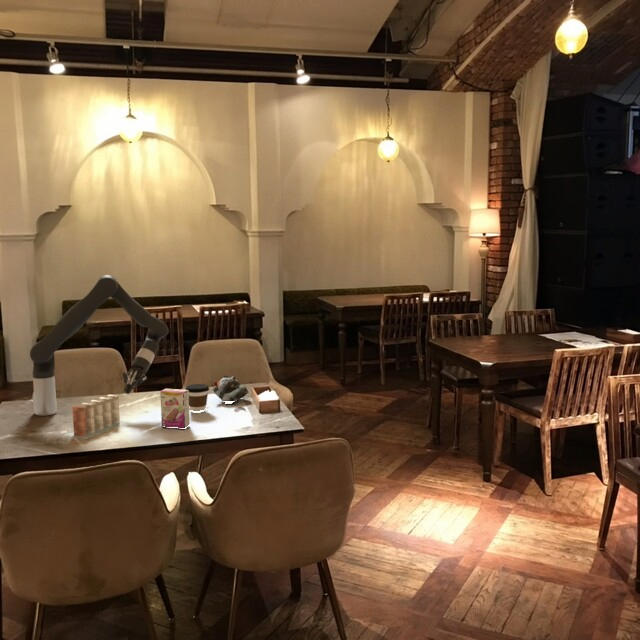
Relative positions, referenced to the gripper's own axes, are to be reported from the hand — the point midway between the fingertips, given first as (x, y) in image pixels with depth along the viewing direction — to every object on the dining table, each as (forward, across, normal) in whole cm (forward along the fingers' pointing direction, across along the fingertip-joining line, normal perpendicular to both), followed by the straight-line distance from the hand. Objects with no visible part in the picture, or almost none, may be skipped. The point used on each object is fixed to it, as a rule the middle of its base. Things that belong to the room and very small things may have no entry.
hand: (126, 392), depth 314 cm
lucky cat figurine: (-22, +26, +40) cm, 52 cm away
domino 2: (+25, 0, -9) cm, 26 cm away
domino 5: (+14, 0, +2) cm, 14 cm away
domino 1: (+28, 0, -12) cm, 31 cm away
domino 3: (+21, 0, -5) cm, 22 cm away
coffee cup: (-7, +22, +24) cm, 34 cm away
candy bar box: (+10, +28, +7) cm, 31 cm away
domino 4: (+18, 0, -2) cm, 18 cm away
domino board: (+22, 0, -5) cm, 22 cm away
